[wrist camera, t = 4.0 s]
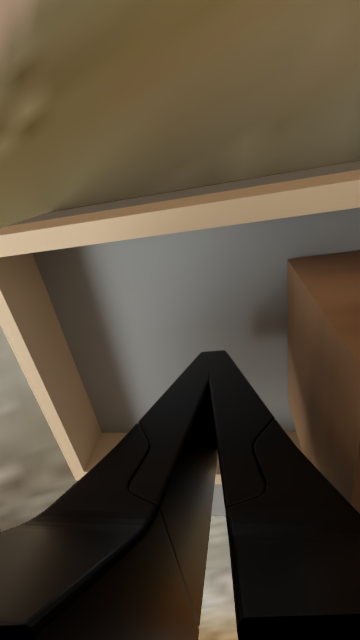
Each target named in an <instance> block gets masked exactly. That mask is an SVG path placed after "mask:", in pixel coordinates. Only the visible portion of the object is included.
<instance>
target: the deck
mask: <svg viewBox="0 0 360 640" xmlns="http://www.w3.org/2000/svg"><path fill="white" fill-rule="evenodd" d="M359 250H360V161H354V162H348V163H342V164H336V165H330V166H324V167H318V168H312V169H306V170H300V171H294V172H288V173H282V174H276V175H270V176H264V177H258V178H252V179H246V180H240V181H234V182H228V183H222V184H216V185H210V186H204V187H198V188H192V189H186V190H180V191H174V192H168V193H162V194H156V195H150V196H144V197H138V198H132V199H126V200H120V201H114V202H108V203H102V204H96V205H90V206H84V207H78V208H72V209H66V210H60V211H54V212H49V213H46V214H43V215H40V216H36V217H33V218H30V219H27V220H24V221H21V222H18V223H15V224H12V225H9V226H6V227H3V228H0V326H1V328H2V330H3V332H4V334H5V336H6V338H7V340H8V342H9V344H10V346H11V348H12V350H13V352H14V354H15V357H16V359H17V361H18V363H19V365H20V367H21V369H22V371H23V373H24V375H25V377H26V379H27V381H28V383H29V385H30V387H31V389H32V391H33V393H34V395H35V398H36V400H37V402H38V404H39V406H40V408H41V410H42V412H43V414H44V416H45V418H46V420H47V422H48V424H49V426H50V428H51V430H52V432H53V434H54V437H55V439H56V441H57V443H58V445H59V447H60V449H61V451H62V453H63V455H64V457H65V459H66V461H67V463H68V465H69V467H70V469H71V471H72V473H73V475H74V478H75V480H76V481H78V480H80V479H81V478H82V477H83V476H84V475H85V474H86V473H87V472H88V471H89V470H91V469H92V468H93V467H94V466H95V465H96V464H97V463H98V462H99V461H100V460H101V459H102V458H103V457H104V456H106V455H107V454H108V453H109V452H110V451H111V450H112V449H113V448H114V447H115V446H116V445H117V444H118V443H119V442H120V441H121V440H122V439H123V437H124V436H125V435H126V434H127V433H128V432H129V431H130V430H131V429H132V428H133V427H134V426H135V424H136V423H138V422H139V420H140V419H141V418H142V417H143V416H144V415H145V414H146V412H147V411H148V410H149V409H150V408H151V407H152V406H153V405H154V404H155V402H156V401H157V400H158V399H159V398H160V397H161V396H162V395H163V394H164V392H165V391H166V390H167V389H168V388H169V387H170V386H171V385H172V384H173V382H174V381H175V380H176V379H177V378H178V377H179V376H180V375H181V374H182V372H183V371H184V370H185V369H186V368H187V367H188V366H189V365H190V364H191V363H192V361H193V360H194V359H195V358H196V357H197V356H198V355H199V354H200V353H201V352H205V351H219V350H225V351H226V352H227V353H228V354H229V356H230V357H231V358H232V360H233V361H234V362H235V364H236V365H237V367H238V368H239V369H240V371H241V372H242V373H243V375H244V376H245V378H246V379H247V380H248V382H249V383H250V384H251V386H252V387H253V389H254V390H255V391H256V393H257V394H258V395H259V397H260V398H261V400H262V401H263V402H264V404H265V405H266V406H267V408H268V409H269V411H270V412H271V413H272V415H273V416H274V417H275V420H277V421H278V423H279V424H280V425H281V427H282V428H283V430H284V431H285V432H286V433H287V435H288V436H289V437H290V439H291V440H292V441H293V442H294V444H295V445H296V446H297V447H298V448H299V449H300V451H301V452H302V449H301V446H300V443H299V439H298V436H297V432H296V429H295V425H294V422H293V418H292V415H291V412H290V408H289V405H288V339H287V259H294V258H302V257H310V256H318V255H326V254H335V253H343V252H351V251H359ZM138 424H139V423H138ZM211 516H224V517H226V512H225V505H224V498H223V490H222V482H221V474H220V467H219V459H218V456H217V466H216V475H215V485H214V494H213V503H212V513H211Z"/></svg>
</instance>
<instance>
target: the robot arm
mask: <svg viewBox="0 0 360 640" xmlns="http://www.w3.org/2000/svg"><path fill="white" fill-rule="evenodd" d="M138 423H139V424H138ZM138 423H136V424H135V426H134V427H133V428H132V429H131V430H130V431H129V432H128V433H127V434H126V435H125V436H124V437H123V439H122V440H121V441H120V442H119V443H118V444H117V445H116V446H115V447H114V448H113V449H112V450H111V451H110V452H109V453H108V454H107V455H106V456H104V457H103V458H102V459H101V460H100V461H99V462H98V463H97V464H96V465H95V466H94V467H93V468H92V469H91V470H89V471H88V472H87V473H86V474H85V475H84V476H83V477H82V478H81V479H80V480H78V481H77V482H76V483H75V484H74V485H73V486H72V487H71V488H70V489H69V490H68V491H66V492H65V493H64V494H63V495H62V496H61V497H60V498H59V499H58V500H57V501H55V502H54V503H53V504H52V505H51V506H50V507H48V508H47V509H46V510H45V511H43V512H42V513H41V514H39V515H38V516H36V517H35V518H33V519H31V520H30V521H28V522H26V523H24V524H22V525H20V526H17V527H14V528H12V529H9V530H6V531H3V532H0V640H198V635H199V628H198V627H199V625H200V616H201V606H202V597H203V588H204V578H205V569H206V560H207V550H208V541H209V531H210V522H211V513H212V503H213V494H214V485H215V475H216V466H217V456H218V459H219V467H220V474H221V482H222V490H223V498H224V505H225V512H226V521H227V529H228V537H229V547H230V558H231V569H232V580H233V591H234V602H235V613H236V624H237V633H238V640H360V513H359V512H358V511H357V510H356V509H355V508H354V507H353V506H352V505H351V504H350V503H349V502H348V501H347V499H346V498H345V497H344V496H343V495H342V494H341V493H340V492H339V491H338V490H337V489H336V488H335V487H334V486H333V485H332V484H331V483H330V482H329V481H328V480H327V479H326V477H325V476H324V475H323V474H322V473H321V472H320V471H319V470H318V469H317V468H316V467H315V466H314V465H313V464H312V463H311V462H310V461H309V459H308V458H307V457H306V456H305V455H304V454H303V453H302V452H301V451H300V449H299V448H298V447H297V446H296V445H295V444H294V442H293V441H292V440H291V439H290V437H289V436H288V435H287V433H286V432H285V431H284V430H283V428H282V427H281V425H280V424H279V423H278V421H277V420H275V417H274V416H273V415H272V413H271V412H270V411H269V409H268V408H267V406H266V405H265V404H264V402H263V401H262V400H261V398H260V397H259V395H258V394H257V393H256V391H255V390H254V389H253V387H252V386H251V384H250V383H249V382H248V380H247V379H246V378H245V376H244V375H243V373H242V372H241V371H240V369H239V368H238V367H237V365H236V364H235V362H234V361H233V360H232V358H231V357H230V356H229V354H228V353H227V352H226V351H225V350H219V351H205V352H201V353H200V354H199V355H198V356H197V357H196V358H195V359H194V360H193V361H192V363H191V364H190V365H189V366H188V367H187V368H186V369H185V370H184V371H183V372H182V374H181V375H180V376H179V377H178V378H177V379H176V380H175V381H174V382H173V384H172V385H171V386H170V387H169V388H168V389H167V390H166V391H165V392H164V394H163V395H162V396H161V397H160V398H159V399H158V400H157V401H156V402H155V404H154V405H153V406H152V407H151V408H150V409H149V410H148V411H147V412H146V414H145V415H144V416H143V417H142V418H141V419H140V420H139V422H138Z"/></svg>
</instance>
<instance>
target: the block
mask: <svg viewBox="0 0 360 640" xmlns="http://www.w3.org/2000/svg"><path fill="white" fill-rule="evenodd" d="M287 339H288V405H289V408H290V412H291V415H292V418H293V422H294V425H295V429H296V432H297V436H298V439H299V443H300V446H301V449H302V453H303V454H304V455H305V456H306V457H307V458H308V459H309V461H310V462H311V463H312V464H313V465H314V466H315V467H316V468H317V469H318V470H319V471H320V472H321V473H322V474H323V475H324V476H325V477H326V479H327V480H328V481H329V482H330V483H331V484H332V485H333V486H334V487H335V488H336V489H337V490H338V491H339V492H340V493H341V494H342V495H343V496H344V497H345V498H346V499H347V501H348V502H349V503H350V504H351V505H352V506H353V507H354V508H355V509H356V510H357V511H358V512H359V513H360V250H359V251H351V252H343V253H335V254H326V255H318V256H310V257H302V258H294V259H287Z"/></svg>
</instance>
